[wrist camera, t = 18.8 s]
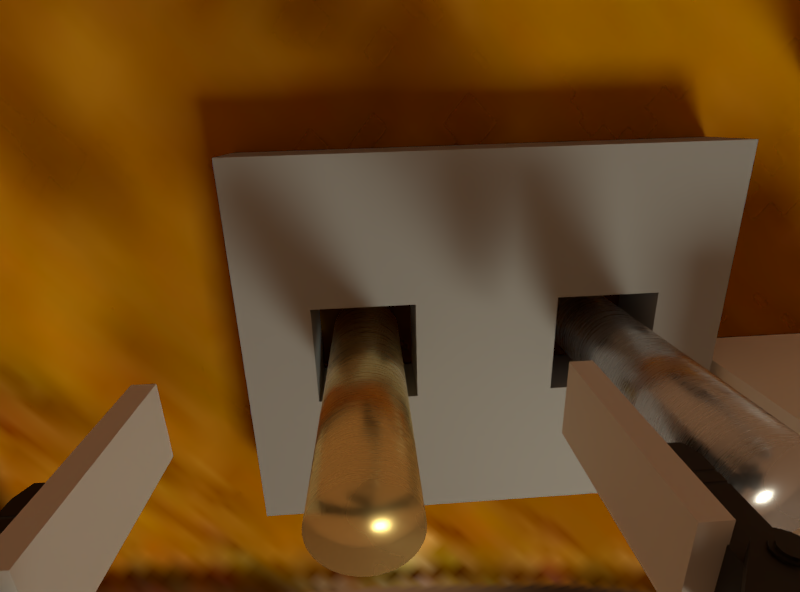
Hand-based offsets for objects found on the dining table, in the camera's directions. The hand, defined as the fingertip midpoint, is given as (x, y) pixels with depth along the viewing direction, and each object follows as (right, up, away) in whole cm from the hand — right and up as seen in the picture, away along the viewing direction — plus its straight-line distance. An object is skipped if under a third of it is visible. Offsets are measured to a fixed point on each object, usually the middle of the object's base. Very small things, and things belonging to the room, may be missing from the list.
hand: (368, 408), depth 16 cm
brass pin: (-1, +2, +7) cm, 8 cm away
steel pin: (+9, +3, +8) cm, 12 cm away
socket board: (+4, +2, +7) cm, 9 cm away
